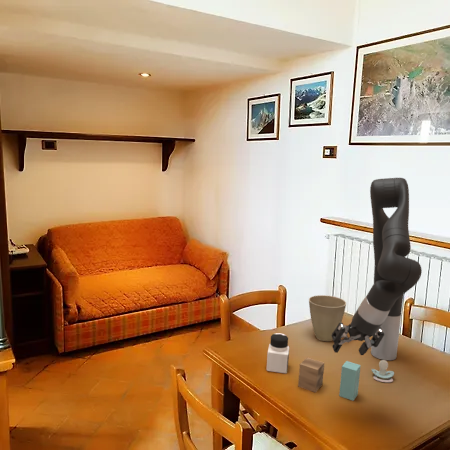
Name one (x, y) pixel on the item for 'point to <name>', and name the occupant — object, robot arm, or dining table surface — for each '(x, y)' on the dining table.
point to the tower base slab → (310, 383)
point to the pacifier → (383, 372)
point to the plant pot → (326, 315)
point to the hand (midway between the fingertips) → (347, 351)
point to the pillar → (349, 380)
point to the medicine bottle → (278, 353)
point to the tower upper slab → (311, 369)
